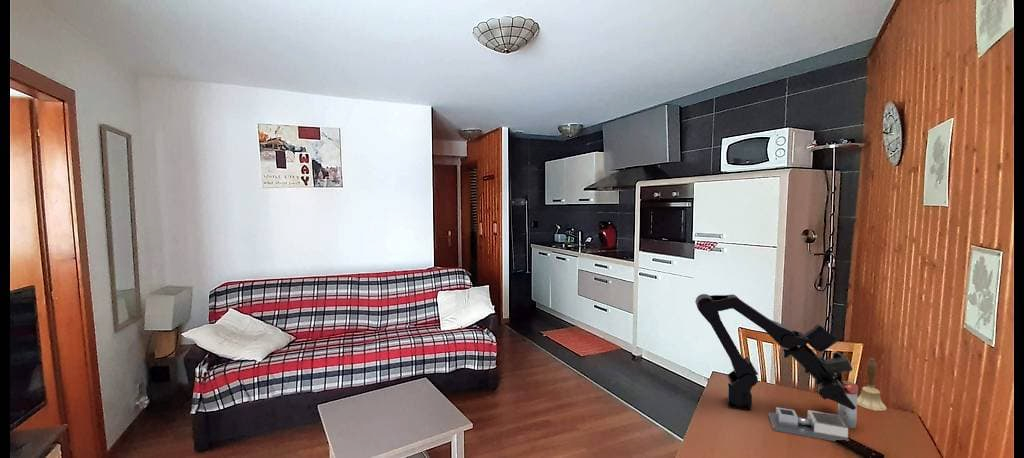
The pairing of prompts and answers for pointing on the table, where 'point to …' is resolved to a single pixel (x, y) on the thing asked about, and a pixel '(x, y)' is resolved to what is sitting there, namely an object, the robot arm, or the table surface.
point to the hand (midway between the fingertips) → (853, 404)
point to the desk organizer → (810, 424)
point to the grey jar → (845, 412)
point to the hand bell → (871, 391)
